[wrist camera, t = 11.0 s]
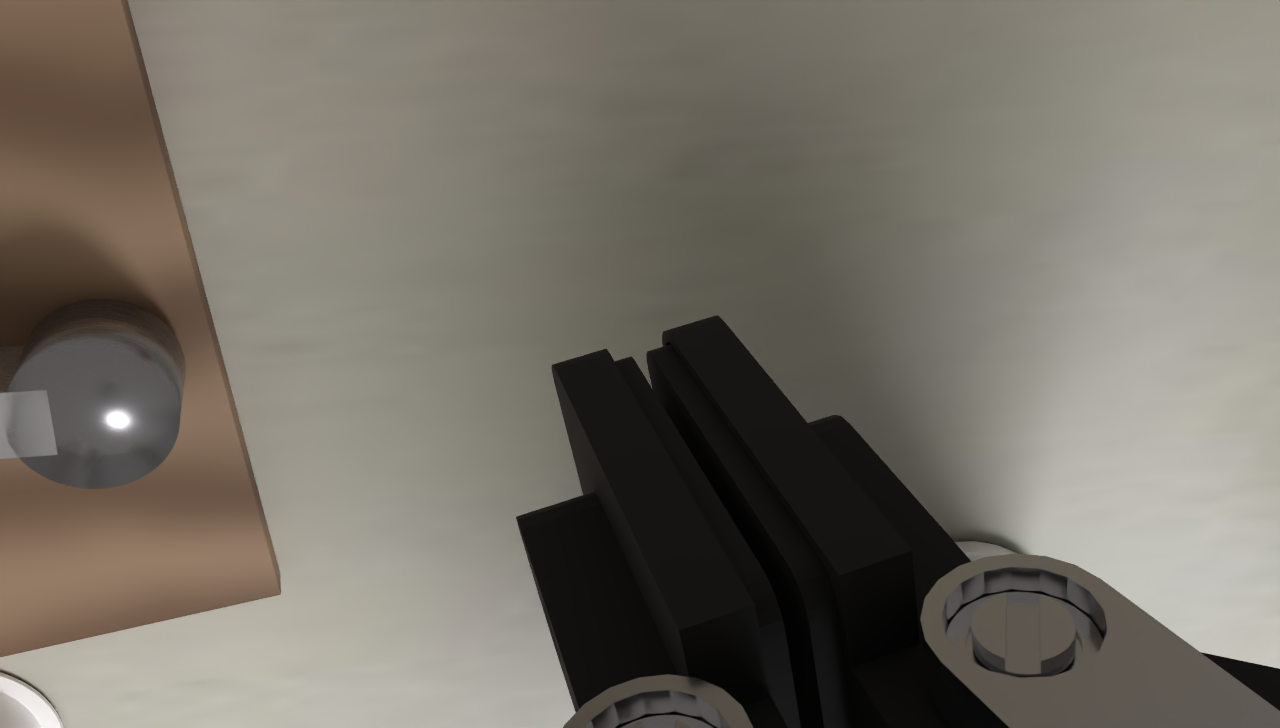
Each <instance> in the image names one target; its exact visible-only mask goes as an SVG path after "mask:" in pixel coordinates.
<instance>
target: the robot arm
mask: <svg viewBox="0 0 1280 728" xmlns="http://www.w3.org/2000/svg"><path fill="white" fill-rule="evenodd" d="M662 341H663V347H661V348H658V349H654V350H651V351H648V352H647V364H648V369H649V374H650V379H651V384H652V388H651V386H650V385H649V383H648V381H647V380H646V378H645V377H644V375H643V373H642V372H641V370H640V368H639V367H638V365H637V364H636V362H635V360H634V359H633V358H632V357H628V358H625V359H621V360H618V361H615V362H614V360H613V358H612V357H611V355H610V353H609V352H608V350H607V349H603V350H600V351H597V352H594V353H590V354H587V355H584V356H580V357H577V358H574V359H570V360H567V361H564V362H560V363H557V364H554V365H552V373H553V378H554V382H555V386H556V390H557V394H558V398H559V402H560V406H561V410H562V414H563V418H564V421H565V425H566V429H567V433H568V437H569V441H570V445H571V449H572V453H573V456H574V460H575V464H576V468H577V472H578V476H579V480H580V484H581V488H582V492H583V496H580V497H576V498H573V499H570V500H567V501H564V502H561V503H558V504H555V505H551V506H548V507H545V508H542V509H539V510H536V511H533V512H530V513H526V514H523V515H520V516H517V517H516V518H517V522H518V526H519V529H520V533H521V536H522V540H523V543H524V546H525V550H526V553H527V557H528V560H529V563H530V567H531V570H532V573H533V577H534V580H535V584H536V587H537V590H538V594H539V597H540V600H541V603H542V607H543V610H544V613H545V617H546V620H547V623H548V626H549V630H550V633H551V636H552V639H553V642H554V646H555V649H556V652H557V655H558V658H559V661H560V665H561V668H562V671H563V674H564V677H565V680H566V683H567V686H568V690H569V693H570V696H571V699H572V702H573V705H574V708H575V711H576V713H575V714H574V716H573V717H572V718H571V719H570V720H569V721H568V722H567V723H566V724H565V725H564V727H563V728H1280V669H1278V668H1273V667H1268V666H1263V665H1258V664H1254V663H1249V662H1244V661H1239V660H1235V659H1230V658H1225V657H1220V656H1215V655H1211V654H1206V653H1201V652H1199V651H1198V650H1196V649H1195V648H1194V647H1192V646H1191V645H1190V644H1188V643H1187V642H1185V641H1184V640H1183V639H1181V638H1180V637H1179V636H1177V635H1176V634H1175V633H1173V632H1172V631H1171V630H1169V629H1168V628H1166V627H1165V626H1164V625H1162V624H1161V623H1160V622H1158V621H1157V620H1156V619H1154V618H1153V617H1152V616H1150V615H1149V614H1147V613H1146V612H1145V611H1143V610H1142V609H1141V608H1139V607H1138V606H1137V605H1135V604H1134V603H1133V602H1131V601H1130V600H1128V599H1127V598H1126V597H1124V596H1123V595H1122V594H1120V593H1119V592H1118V591H1116V590H1115V589H1114V588H1112V587H1111V586H1109V585H1108V584H1107V583H1105V582H1104V581H1103V580H1101V579H1100V578H1098V577H1096V576H1094V575H1093V574H1091V573H1089V572H1087V571H1085V570H1084V569H1082V568H1080V567H1078V566H1076V565H1074V564H1070V563H1067V562H1064V561H1060V560H1057V559H1054V558H1050V557H1047V556H1037V555H1026V554H1016V553H1015V552H1012V551H1010V550H1008V549H1005V548H1003V547H1001V546H998V545H994V544H989V543H983V542H977V541H968V542H954V541H953V540H952V539H951V538H950V536H949V535H948V534H947V533H946V532H945V531H944V530H943V529H942V527H941V526H940V525H939V524H938V523H937V522H936V521H935V520H934V518H933V517H932V516H931V515H930V514H929V513H928V512H927V510H926V509H925V508H924V507H923V506H922V505H921V504H920V503H919V501H918V500H917V499H916V498H915V497H914V496H913V495H912V494H911V492H910V491H909V490H908V489H907V488H906V487H905V486H904V485H903V483H902V482H901V481H900V480H899V479H898V478H897V477H896V475H895V474H894V473H893V472H892V471H891V470H890V469H889V468H888V466H887V465H886V464H885V463H884V462H883V461H882V460H881V459H880V457H879V456H878V455H877V454H876V453H875V452H874V451H873V450H872V448H871V447H870V446H869V445H868V444H867V443H866V442H865V441H864V439H863V438H862V437H861V436H860V435H859V434H858V433H857V431H856V430H855V429H854V428H853V427H852V426H851V425H850V424H849V423H848V422H847V421H846V420H845V419H844V418H842V417H841V416H837V415H832V416H829V417H826V418H823V419H820V420H817V421H813V422H810V423H807V422H806V421H805V419H804V418H803V417H802V416H801V415H800V413H799V412H798V411H797V410H796V408H795V407H794V406H793V405H792V404H791V402H790V401H789V400H788V399H787V397H786V396H785V395H784V394H783V393H782V391H781V390H780V389H779V388H778V387H777V385H776V384H775V383H774V382H773V380H772V379H771V378H770V377H769V376H768V374H767V373H766V372H765V371H764V370H763V368H762V367H761V366H760V365H759V363H758V362H757V361H756V360H755V359H754V357H753V356H752V355H751V354H750V352H749V351H748V350H747V349H746V348H745V346H744V345H743V344H742V343H741V342H740V340H739V339H738V338H737V337H736V335H735V334H734V333H733V332H732V331H731V329H730V328H729V327H728V326H727V324H726V323H725V322H724V321H723V320H722V319H721V318H720V317H719V316H713V317H710V318H706V319H703V320H700V321H696V322H693V323H690V324H686V325H683V326H680V327H677V328H673V329H670V330H667V331H663V335H662ZM652 389H653V390H652Z"/></svg>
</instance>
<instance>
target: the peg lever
mask: <svg viewBox="0 0 1280 728" xmlns="http://www.w3.org/2000/svg"><path fill="white" fill-rule="evenodd" d="M185 374H186V362H185V357H184V353H183V350H182V347H181V345H180V343H179V341H178V339H177V337H176V336H175V335H174V333H173V332H172V330H171V329H170V328H169V327H168V326H167V325H166V324H165V323H164V322H163V321H162V320H160V319H159V318H158V317H157V316H155V315H154V314H152V313H150V312H149V311H147V310H145V309H143V308H141V307H139V306H136V305H133V304H130V303H127V302H123V301H119V300H111V299H88V300H82V301H77V302H73V303H70V304H67V305H65V306H62V307H60V308H58V309H56V310H54V311H53V312H51V313H50V314H48V315H47V316H46V317H45V318H43V319H42V320H41V321H40V322H39V323H38V324H37V325H36V327H35V328H34V329H33V330H32V332H31V334H30V335H29V337H28V339H27V342H26V344H25V346H16V347H0V459H7V458H20V460H21V461H22V462H24V463H25V464H26V465H27V466H28V467H29V468H31V469H32V470H33V471H35V472H36V473H38V474H40V475H41V476H43V477H45V478H47V479H49V480H52V481H54V482H57V483H60V484H63V485H67V486H71V487H77V488H86V489H104V488H111V487H117V486H121V485H125V484H128V483H131V482H133V481H136V480H138V479H140V478H142V477H144V476H146V475H147V474H149V473H150V472H152V471H153V470H154V469H156V468H157V467H158V466H159V465H160V464H161V463H162V462H163V461H164V460H165V459H166V458H167V456H168V455H169V453H170V452H171V450H172V449H173V447H174V445H175V442H176V440H177V437H178V433H179V426H180V418H181V409H182V400H183V392H184V383H185Z"/></svg>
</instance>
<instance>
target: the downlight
mask: <svg viewBox="0 0 1280 728" xmlns="http://www.w3.org/2000/svg"><path fill="white" fill-rule="evenodd" d="M0 728H63V725H62V722H61V720H60V717H59V716H58V714H57V712H56V711H55V709H54V708H53V706H52V705H51V704H50V703H49V702H48V700H47V699H46V698H45V697H44V696H42V695H41V694H40V693H39V692H38V691H36V690H35V689H34V688H32V687H31V686H29V685H27V684H26V683H24V682H22V681H20V680H18V679H16V678H14V677H12V676H9V675H7V674H4V673H1V672H0Z"/></svg>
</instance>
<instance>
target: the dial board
mask: <svg viewBox="0 0 1280 728" xmlns="http://www.w3.org/2000/svg"><path fill="white" fill-rule="evenodd" d="M88 299H111V300H119V301H123V302H127V303H130V304H133V305H136V306H139V307H141V308H143V309H145V310H147V311H149V312H150V313H152V314H154V315H155V316H157V317H158V318H159V319H160V320H162V321H163V322H164V323H165V324H166V325H167V326H168V327H169V328H170V329H171V330H172V332H173V333H174V335H175V336H176V337H177V339H178V341H179V343H180V345H181V347H182V350H183V353H184V357H185V362H186V374H185V383H184V392H183V400H182V409H181V418H180V426H179V433H178V437H177V440H176V442H175V445H174V447H173V449H172V450H171V452H170V453H169V455H168V456H167V458H166V459H165V460H164V461H163V462H162V463H161V464H160V465H159V466H158V467H157V468H156V469H154V470H153V471H152V472H150V473H149V474H147V475H146V476H144V477H142V478H140V479H138V480H136V481H133V482H131V483H128V484H125V485H121V486H117V487H111V488H104V489H86V488H77V487H71V486H67V485H63V484H60V483H57V482H54V481H52V480H49V479H47V478H45V477H43V476H41V475H40V474H38V473H36V472H35V471H33V470H32V469H31V468H29V467H28V466H27V465H26V464H25V463H24V462H22V461H21V460H20V458H7V459H0V657H4V656H8V655H13V654H17V653H21V652H26V651H30V650H35V649H39V648H44V647H48V646H53V645H57V644H62V643H66V642H71V641H75V640H80V639H84V638H88V637H93V636H97V635H102V634H106V633H111V632H115V631H120V630H124V629H129V628H133V627H138V626H142V625H147V624H151V623H156V622H160V621H164V620H169V619H173V618H178V617H182V616H187V615H191V614H196V613H200V612H205V611H209V610H214V609H218V608H223V607H227V606H231V605H236V604H240V603H245V602H249V601H254V600H258V599H263V598H267V597H272V596H276V595H281V587H280V571H279V567H278V564H277V560H276V556H275V552H274V549H273V545H272V541H271V537H270V534H269V530H268V526H267V522H266V519H265V515H264V511H263V507H262V504H261V500H260V496H259V492H258V489H257V485H256V481H255V477H254V474H253V470H252V466H251V462H250V459H249V455H248V451H247V447H246V444H245V440H244V436H243V432H242V429H241V425H240V421H239V417H238V414H237V410H236V406H235V402H234V399H233V395H232V391H231V387H230V384H229V380H228V376H227V372H226V369H225V365H224V361H223V357H222V354H221V350H220V346H219V342H218V339H217V335H216V331H215V327H214V324H213V320H212V316H211V312H210V309H209V305H208V301H207V297H206V294H205V290H204V286H203V282H202V279H201V275H200V271H199V267H198V264H197V260H196V256H195V252H194V249H193V245H192V241H191V237H190V234H189V230H188V226H187V222H186V219H185V215H184V211H183V207H182V204H181V200H180V196H179V192H178V189H177V185H176V181H175V177H174V174H173V170H172V166H171V162H170V159H169V155H168V151H167V147H166V143H165V140H164V136H163V132H162V128H161V125H160V121H159V117H158V113H157V110H156V106H155V102H154V98H153V95H152V91H151V87H150V83H149V80H148V76H147V72H146V68H145V65H144V61H143V57H142V53H141V50H140V46H139V42H138V38H137V35H136V31H135V27H134V23H133V20H132V16H131V12H130V8H129V5H128V1H127V0H0V347H16V346H25V344H26V342H27V339H28V337H29V335H30V334H31V332H32V330H33V329H34V328H35V327H36V325H37V324H38V323H39V322H40V321H41V320H42V319H43V318H45V317H46V316H47V315H48V314H50V313H51V312H53V311H54V310H56V309H58V308H60V307H62V306H65V305H67V304H70V303H73V302H77V301H82V300H88Z"/></svg>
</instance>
